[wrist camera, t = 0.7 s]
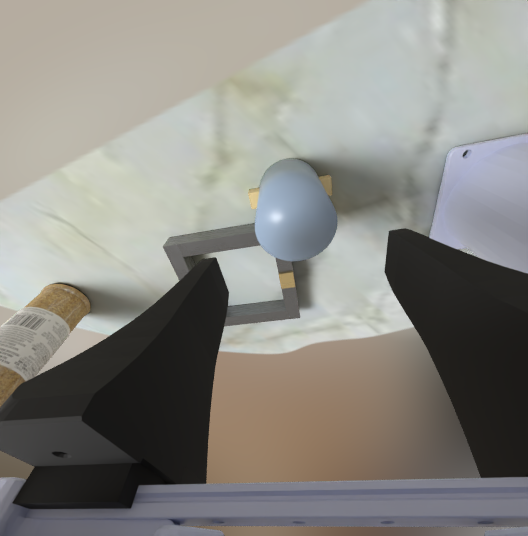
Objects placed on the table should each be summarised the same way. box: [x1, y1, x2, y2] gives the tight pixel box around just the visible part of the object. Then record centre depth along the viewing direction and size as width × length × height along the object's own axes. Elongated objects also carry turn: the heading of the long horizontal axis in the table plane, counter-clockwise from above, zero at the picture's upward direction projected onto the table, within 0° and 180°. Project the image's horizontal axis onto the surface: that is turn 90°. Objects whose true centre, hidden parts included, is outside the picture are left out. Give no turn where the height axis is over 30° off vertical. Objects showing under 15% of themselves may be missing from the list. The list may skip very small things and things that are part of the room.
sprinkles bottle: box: [0, 284, 90, 407], centre depth 20 cm, size 5×5×13 cm
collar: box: [163, 223, 300, 326], centre depth 22 cm, size 10×10×2 cm
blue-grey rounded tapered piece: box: [248, 159, 337, 261], centre depth 16 cm, size 6×4×6 cm
